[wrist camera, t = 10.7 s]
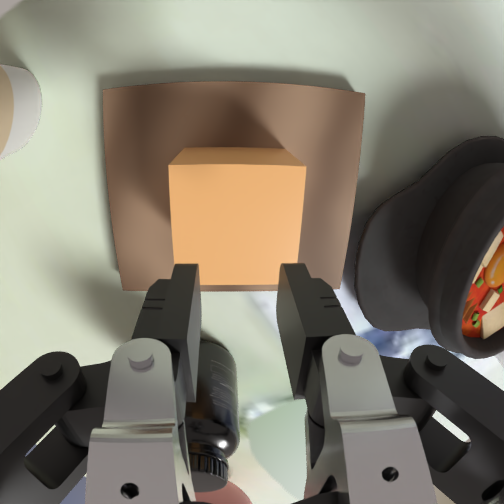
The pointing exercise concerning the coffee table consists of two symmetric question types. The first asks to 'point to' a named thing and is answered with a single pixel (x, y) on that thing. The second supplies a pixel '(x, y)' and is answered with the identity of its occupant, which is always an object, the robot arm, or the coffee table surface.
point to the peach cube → (236, 212)
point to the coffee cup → (18, 108)
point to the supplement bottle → (212, 418)
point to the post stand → (228, 135)
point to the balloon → (224, 496)
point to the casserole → (441, 253)
